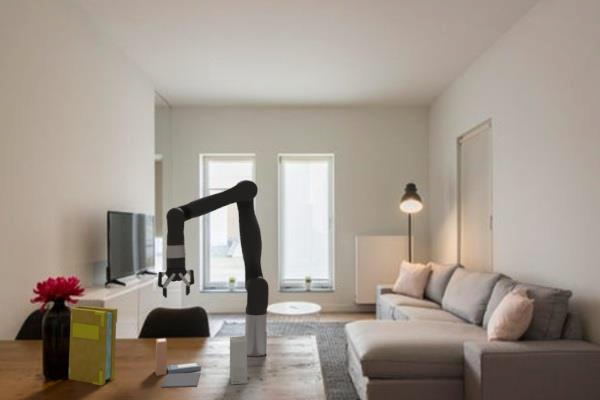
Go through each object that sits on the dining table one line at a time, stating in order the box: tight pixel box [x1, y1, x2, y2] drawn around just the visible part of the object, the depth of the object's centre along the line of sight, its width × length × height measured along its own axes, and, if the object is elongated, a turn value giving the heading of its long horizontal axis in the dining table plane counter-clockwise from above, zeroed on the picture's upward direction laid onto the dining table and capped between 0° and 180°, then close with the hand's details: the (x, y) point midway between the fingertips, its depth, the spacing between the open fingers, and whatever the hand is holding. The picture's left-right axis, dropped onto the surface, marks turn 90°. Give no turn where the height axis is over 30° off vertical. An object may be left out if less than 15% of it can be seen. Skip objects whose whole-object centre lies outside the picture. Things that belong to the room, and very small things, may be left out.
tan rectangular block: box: [154, 337, 168, 376], centre depth 162 cm, size 4×5×12 cm
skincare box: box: [229, 335, 248, 385], centre depth 156 cm, size 8×6×15 cm
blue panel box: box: [166, 361, 202, 374], centre depth 165 cm, size 12×5×2 cm, turn 112°
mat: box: [161, 372, 202, 389], centre depth 155 cm, size 12×12×1 cm
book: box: [68, 305, 119, 386], centre depth 155 cm, size 17×7×25 cm, turn 71°
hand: (176, 296), depth 176 cm, fingers open, 8 cm apart
